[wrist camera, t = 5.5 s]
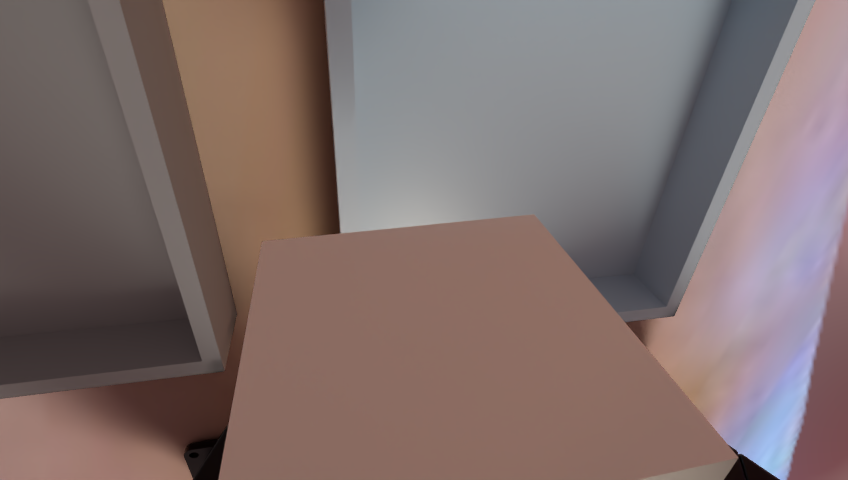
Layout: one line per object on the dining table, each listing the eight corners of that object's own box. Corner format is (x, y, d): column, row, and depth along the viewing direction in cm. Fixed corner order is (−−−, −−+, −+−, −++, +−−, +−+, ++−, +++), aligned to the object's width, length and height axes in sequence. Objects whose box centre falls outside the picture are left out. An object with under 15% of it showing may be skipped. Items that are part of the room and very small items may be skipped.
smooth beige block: (506, 387, 11) (616, 638, 7) (302, 421, 10) (294, 730, 6) (534, 214, 9) (738, 457, 4) (261, 241, 8) (200, 575, 4)
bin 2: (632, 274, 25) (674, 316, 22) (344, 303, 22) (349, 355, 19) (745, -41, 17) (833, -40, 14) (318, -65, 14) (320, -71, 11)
